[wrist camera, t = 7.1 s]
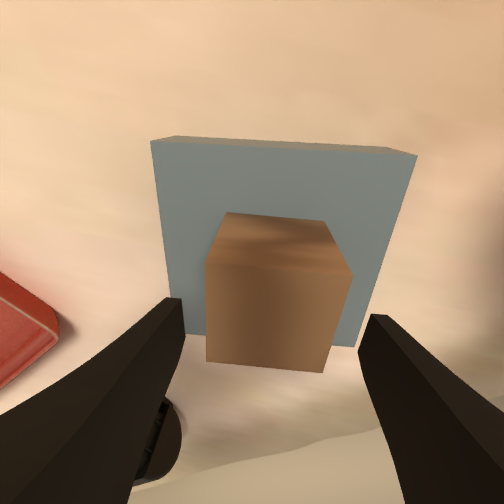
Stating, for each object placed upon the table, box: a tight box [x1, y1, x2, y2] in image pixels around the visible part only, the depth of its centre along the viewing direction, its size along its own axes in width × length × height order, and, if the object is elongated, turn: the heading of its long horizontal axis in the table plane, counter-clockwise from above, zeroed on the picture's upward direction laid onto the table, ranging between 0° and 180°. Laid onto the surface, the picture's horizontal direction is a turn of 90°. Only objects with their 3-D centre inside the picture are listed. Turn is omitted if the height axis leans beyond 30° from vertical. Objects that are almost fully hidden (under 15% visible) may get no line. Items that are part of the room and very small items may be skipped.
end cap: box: [132, 396, 182, 487], centre depth 25 cm, size 10×7×7 cm
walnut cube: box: [205, 212, 353, 373], centre depth 12 cm, size 5×5×5 cm
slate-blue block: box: [150, 136, 418, 347], centre depth 16 cm, size 12×12×4 cm
